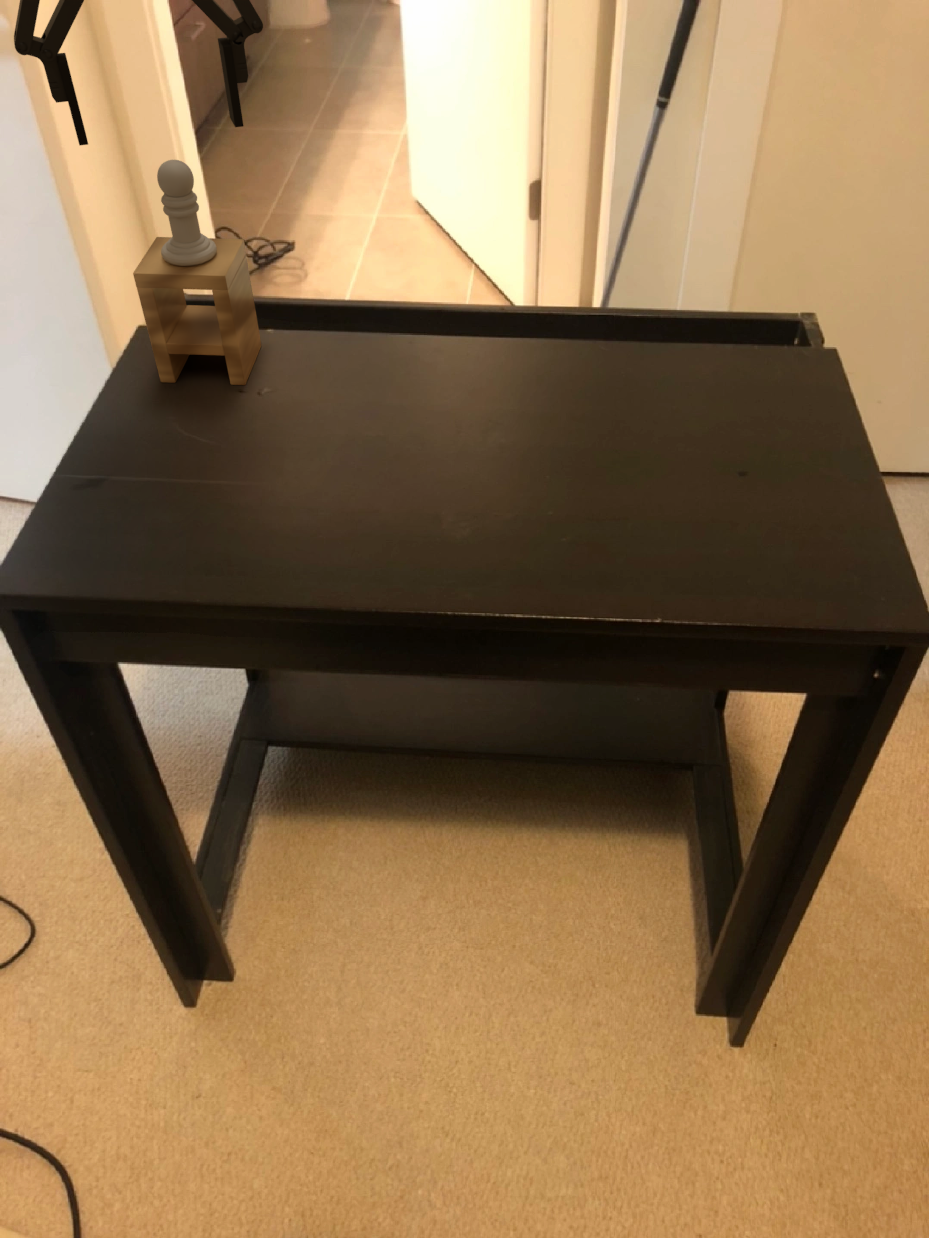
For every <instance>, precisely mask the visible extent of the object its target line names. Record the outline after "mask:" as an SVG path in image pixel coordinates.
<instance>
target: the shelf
mask: <svg viewBox="0 0 929 1238" xmlns="http://www.w3.org/2000/svg"><path fill="white" fill-rule="evenodd" d="M170 238H172V236H156V238H154V240H153V242H152V243H151V245H150V246H149V247H148V250H146V252H145V254H144V256H143V257H142V259H141V260H140V262H139V263H138V265H137V266H136V268H135V270H133V272H132V276H133V279H134V283H135V287H136V290H137V294H138V298H139V299H138V300H139V302H140V307H141V310H142V314H143V318H144V321H145V326H146V329H147V333H148V338H149V342H150V344H151V349H152V353H153V357H154V361H155V366H156V368H157V373H158V376H159V381H160V383H170V384H171V383H172V384H175V383H176V382H177V381H178V379H179V377H180V374H181V373H182V371H183V369H184V366H185V365H186V363H187V361H188V358H189V357H190V355H191V356H192V355H193V356H195V355H197V356H224V358H225V363H226V369H227V373H228V378H229V383H230V385H232V386H233V385H234V386H246V385H247V382H248V379H249V377H250V375H251V373H252V370H253V367H254V365H255V362H256V360H257V358H258V355H259V353H260V350H261V348H262V341H261V336H260V328H259V323H258V316H257V311H256V304H255V299H254V293H253V292H254V291H253V286H252V281H251V275H250V268H249V263H248V262H249V261H248V257H247V249H246V243H245V238H217V237H216V238H212V237H210V238H209V237H208V238H209V239H211V240H212V241H213V242H214V243H215V245H216V247H217V250H216V254H215V255H214V256H213V258H212V259H210V260H209V261H207V262H205V263H202V264H198V265H193V266H177V265H173V264H170V263H168V262H167V261H165V260H164V259H163V257H162V255H161V249H162V247H163V245H164V244H165V243H166V242H168V240H169V239H170ZM184 290H198V291H199V290H200V291H201V290H203V291H211V293H212V297H213V303H214V305H197V304H196V305H194V304H187V301H186V296H185V292H184Z"/></svg>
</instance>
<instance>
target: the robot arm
mask: <svg viewBox="0 0 929 1238" xmlns="http://www.w3.org/2000/svg"><path fill="white" fill-rule="evenodd" d="M40 1H41V0H19V3H18V10H17V15H16V21H15V27H14V33H13V44H14V49H15V51H16V52H17V53H18V54H19V55H21V56H30V57H35V58H36V59H38V60H40V61H41V63H42V65H43V68H44V72H45V77H46V79H47V83H48V86H49V90H50V94H51V97H52V99H53V100H54V101H55V103H56V104H57V103H65V102H67V104H68V107H69V111H70V115H71V119H72V122H73V123H72V124H73V126H74V130H75V134H76V138H77V142H78V144H79V146H88V145H89V142H88V137H87V133H86V129H85V125H84V121H83V117H82V113H81V110H80V105H79V101H78V98H77V94H76V90H75V89H76V88H75V86H74V81H73V78H72V74H71V70H70V66H69V63H68V59H67V55H66V52H60V50H61V49H62V46H63V44H64V42H65V41H66V39H67V36H68V34H69V32H70V30H71V28H72V26H73V24H74V22H75V20H76V18H77V16H78V14H79V12H80V10H81V7H82V5H83V4H84V2H85V0H58V1H57V4H56V6H55V8H54V10H53V12H52V15H51V16H50V18H49V21H48V23H47V24H46V26H45V29H44V31H43V33H42V35H41V37H39V36H35V35H34V34H35V28H36V25H37V24H36V23H37V18H38V14H39V13H38V12H39V8H40ZM191 1H192V3H194V4H195V6H196V7H197V8H199V10H200V11H201V12H203V14H204V15H205V16H206V17H207V18H208V19H209V20H210V21H211V22H212V23H213V24H214V25H215V26H216V27H217V28H218V29H219V30H220V31H221V33H223V34H224V35H225V36H226V37H218V38H217V43H218V44H217V45H218V50H219V56H220V62H221V68H222V69H221V70H222V74H223V81H224V88H225V93H226V101H227V108H228V114H229V118H230V120H231V122H232V124H233V126H234V128H242V127H244V120H243V112H242V106H241V99H240V92H239V85H238V84H245V83H248V79H249V72H248V71H249V70H248V63H247V57H246V50H245V42H246V40H247V38H249V37H250V36H253V35H254V34H259V33H261V32H262V31H263V28H264V23H263V21H262V18H261V17H260V16H259V13H258V12H257V11H256V8H255V7H254V5H253V4H252V2H251V0H231V2H232V3H233V5H234V6H235V9H236V10H237V11H238V13H239V15H240V17H239V16H238V18H236V19H233V18H232V17H231V16H230V15H229V14H228V13H227V12H226V10H225V9H223V8H222V6H221V5H220V4H218V2H216V0H191Z"/></svg>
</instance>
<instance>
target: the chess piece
mask: <svg viewBox="0 0 929 1238" xmlns="http://www.w3.org/2000/svg"><path fill="white" fill-rule="evenodd" d="M156 176H157V177H156V178H157V183H158V186H159V189H160V190H161V191H162V192H163V195H162V196H161V198H160V203H161V204H162V205H163V206H162V207H163V208H162V210H163V213H164V215H166V216H167V218H168V222H169V226H170V231H171V237H172V238H170V239H169V240H168V242H166V243H165V244H164V245H163V247H162V249H161V255H162V257H163V259H164V260H165V261H167V262H168V263H170V264H173V265H177V266H193V265H198V264H202V263H205V262H207V261H209V260H210V259H212V258H213V256H214V255H215V254H216V250H217V247H216V245H215V243H214V242H213V241H212V240H211V239H209V237H208V236H206V235H205V234H203V233H201V228H200V222H199V218H198V212H199V210H200V205H199V203H198V196H197V194H196V193H195V192H194V191H193V188H194V184H195V178H194V174H193V171H192V168H190V167H189V165H188V164H187V163H185V162H184V161H182V160H179V159H168V160H166V161H163V162H162V163H161V164H160V165H159V167H158V169H157V174H156Z"/></svg>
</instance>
